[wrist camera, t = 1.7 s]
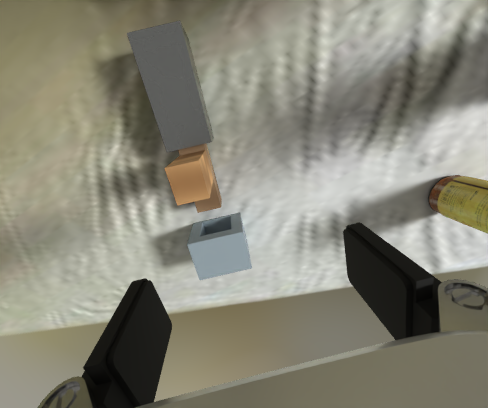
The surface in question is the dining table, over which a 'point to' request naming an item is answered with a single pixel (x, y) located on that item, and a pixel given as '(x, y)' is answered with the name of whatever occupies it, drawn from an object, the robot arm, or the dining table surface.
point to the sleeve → (172, 85)
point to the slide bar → (194, 178)
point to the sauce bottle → (462, 200)
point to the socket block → (219, 246)
